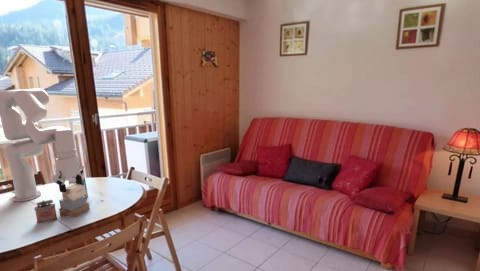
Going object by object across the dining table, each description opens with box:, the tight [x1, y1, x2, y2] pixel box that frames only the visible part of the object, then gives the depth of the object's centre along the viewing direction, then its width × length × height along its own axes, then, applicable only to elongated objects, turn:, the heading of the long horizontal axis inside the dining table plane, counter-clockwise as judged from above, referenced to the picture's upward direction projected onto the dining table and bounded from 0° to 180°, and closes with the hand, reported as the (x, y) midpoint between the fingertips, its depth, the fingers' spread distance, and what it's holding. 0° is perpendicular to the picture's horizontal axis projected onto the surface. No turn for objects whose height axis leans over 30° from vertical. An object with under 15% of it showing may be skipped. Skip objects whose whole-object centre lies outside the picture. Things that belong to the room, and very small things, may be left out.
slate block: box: [58, 196, 88, 211], centre depth 138 cm, size 8×8×4 cm
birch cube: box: [61, 184, 83, 201], centre depth 137 cm, size 6×6×6 cm
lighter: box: [34, 199, 58, 225], centre depth 131 cm, size 8×3×10 cm, turn 114°
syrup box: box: [67, 171, 89, 198], centre depth 154 cm, size 6×6×14 cm
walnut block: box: [58, 201, 91, 219], centre depth 139 cm, size 9×9×4 cm
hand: (71, 187), depth 137 cm, fingers open, 9 cm apart
